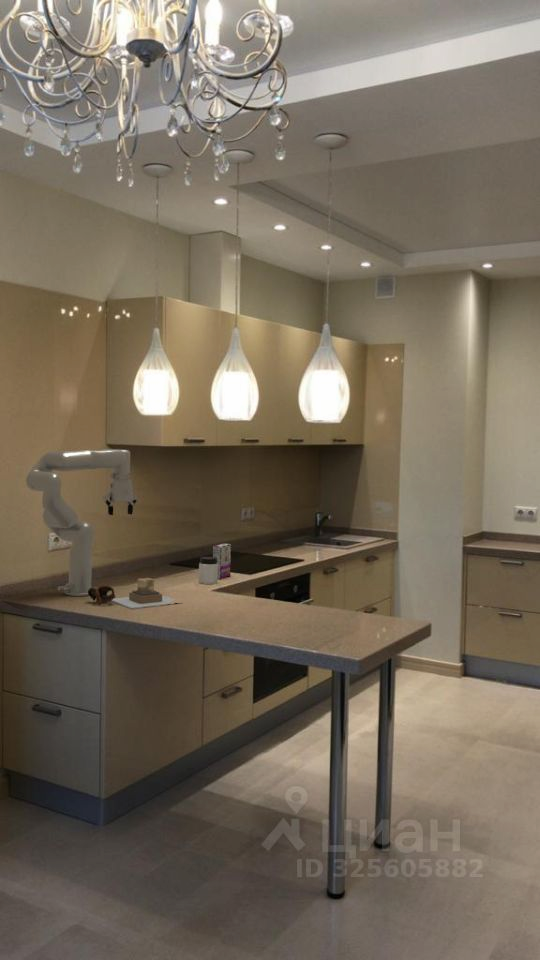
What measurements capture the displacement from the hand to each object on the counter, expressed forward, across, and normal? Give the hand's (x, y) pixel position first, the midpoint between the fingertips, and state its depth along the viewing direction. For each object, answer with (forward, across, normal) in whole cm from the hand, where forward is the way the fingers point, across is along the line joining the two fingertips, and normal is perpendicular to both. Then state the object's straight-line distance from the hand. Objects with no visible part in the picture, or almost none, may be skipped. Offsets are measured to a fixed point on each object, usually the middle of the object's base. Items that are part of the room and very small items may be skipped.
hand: (120, 514), depth 382 cm
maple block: (+30, -6, -35) cm, 46 cm away
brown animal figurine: (+34, -23, -28) cm, 49 cm away
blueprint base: (+33, -6, -35) cm, 49 cm away
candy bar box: (+34, +57, 0) cm, 66 cm away
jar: (+34, +43, -9) cm, 55 cm away
